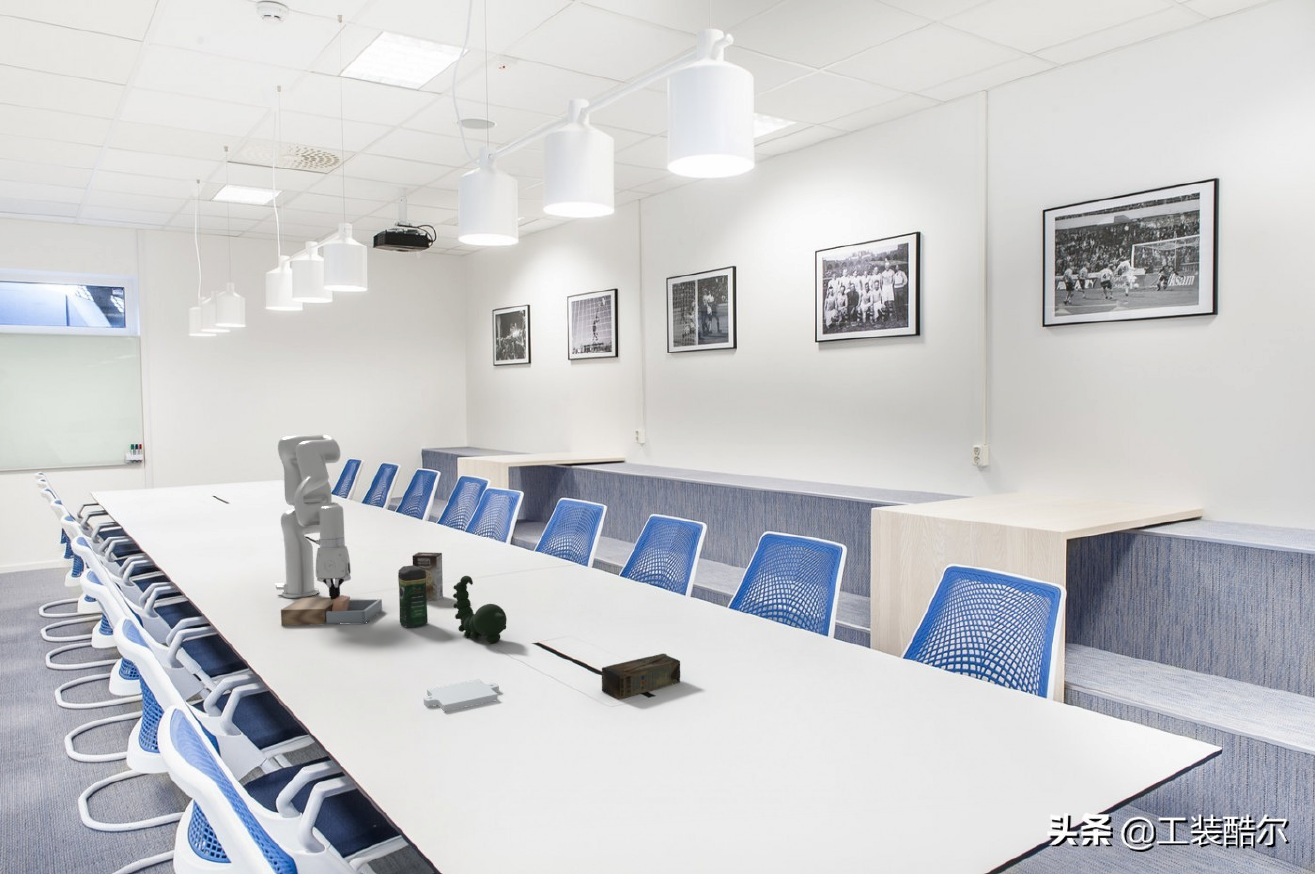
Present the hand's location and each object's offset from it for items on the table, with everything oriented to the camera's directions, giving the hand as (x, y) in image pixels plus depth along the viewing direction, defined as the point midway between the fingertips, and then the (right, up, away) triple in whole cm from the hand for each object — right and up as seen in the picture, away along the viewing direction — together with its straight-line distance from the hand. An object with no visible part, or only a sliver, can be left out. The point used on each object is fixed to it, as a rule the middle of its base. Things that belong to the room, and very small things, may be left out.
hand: (334, 598), depth 283 cm
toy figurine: (+54, -7, -27) cm, 60 cm away
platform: (-7, -7, 0) cm, 10 cm away
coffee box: (+24, -5, +25) cm, 35 cm away
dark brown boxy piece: (+102, -9, -72) cm, 125 cm away
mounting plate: (+59, -10, -77) cm, 98 cm away
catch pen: (+6, -6, 0) cm, 9 cm away
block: (+1, -2, 0) cm, 2 cm away
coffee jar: (+29, -7, -10) cm, 31 cm away
